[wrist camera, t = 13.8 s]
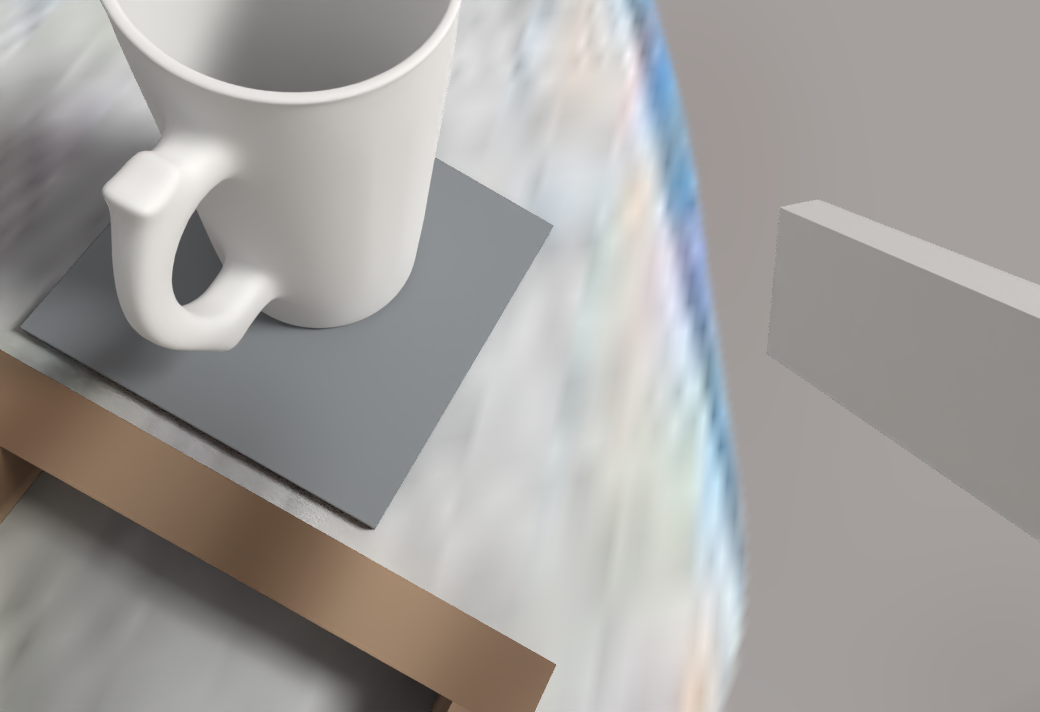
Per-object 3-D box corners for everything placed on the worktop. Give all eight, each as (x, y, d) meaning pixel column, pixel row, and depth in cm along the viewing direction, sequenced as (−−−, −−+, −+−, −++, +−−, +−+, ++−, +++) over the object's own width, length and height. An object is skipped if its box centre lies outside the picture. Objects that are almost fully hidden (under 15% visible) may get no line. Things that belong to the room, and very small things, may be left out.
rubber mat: (24, 331, 23) (19, 327, 23) (257, 61, 28) (256, 54, 27) (374, 529, 24) (375, 528, 23) (550, 230, 28) (553, 225, 28)
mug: (287, 118, 27) (229, -240, 16) (459, 211, 27) (524, -80, 16) (101, 360, 23) (-144, 116, 12) (302, 467, 23) (241, 323, 12)
